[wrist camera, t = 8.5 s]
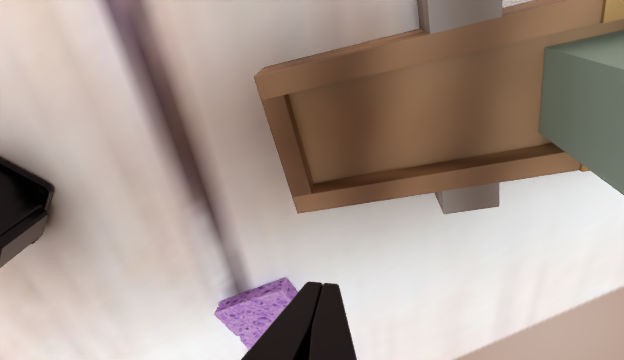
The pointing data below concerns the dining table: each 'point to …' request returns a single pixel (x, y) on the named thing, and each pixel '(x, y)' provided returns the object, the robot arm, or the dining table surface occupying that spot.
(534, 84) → the wooden tray
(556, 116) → the grey-green tall block
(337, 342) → the robot arm
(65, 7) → the dining table surface
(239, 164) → the dining table surface
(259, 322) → the sponges
